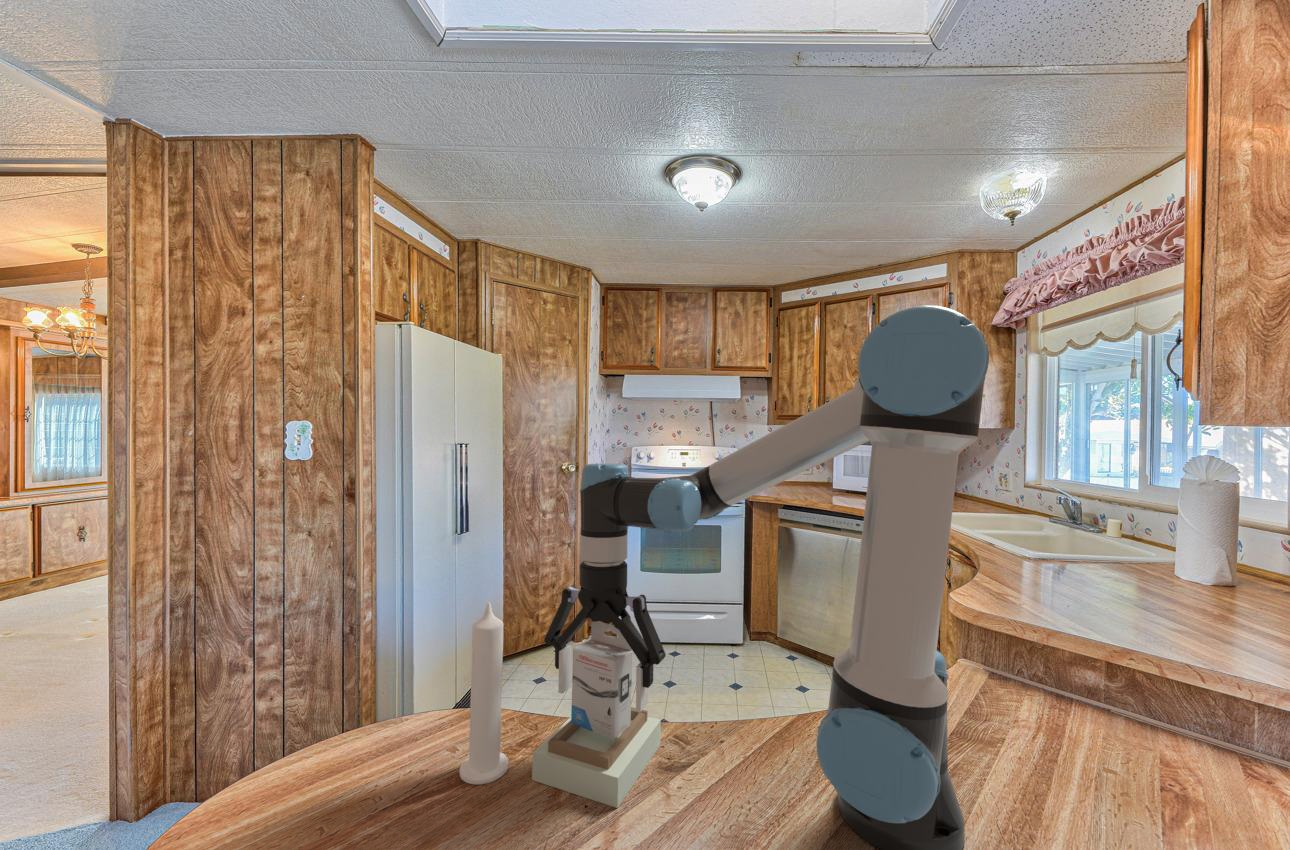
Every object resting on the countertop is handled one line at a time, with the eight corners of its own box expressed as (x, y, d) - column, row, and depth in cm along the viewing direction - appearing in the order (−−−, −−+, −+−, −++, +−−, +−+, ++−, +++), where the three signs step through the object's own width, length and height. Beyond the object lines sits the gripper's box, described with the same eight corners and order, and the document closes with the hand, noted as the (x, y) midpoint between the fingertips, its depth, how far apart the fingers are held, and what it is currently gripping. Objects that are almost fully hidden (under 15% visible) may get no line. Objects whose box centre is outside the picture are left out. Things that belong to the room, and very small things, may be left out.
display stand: (660, 744, 83) (660, 710, 83) (617, 808, 68) (618, 766, 69) (586, 725, 89) (587, 693, 89) (532, 779, 74) (532, 741, 74)
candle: (494, 788, 72) (498, 611, 73) (449, 781, 73) (454, 607, 74) (516, 758, 79) (520, 597, 80) (475, 752, 80) (479, 593, 81)
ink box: (569, 723, 79) (571, 628, 80) (589, 710, 83) (590, 619, 84) (613, 741, 74) (615, 640, 75) (632, 726, 79) (633, 630, 79)
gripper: (686, 563, 78) (685, 703, 77) (550, 549, 88) (548, 673, 87) (669, 574, 71) (668, 728, 70) (524, 558, 81) (521, 692, 80)
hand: (602, 698), depth 79 cm, fingers open, 13 cm apart
